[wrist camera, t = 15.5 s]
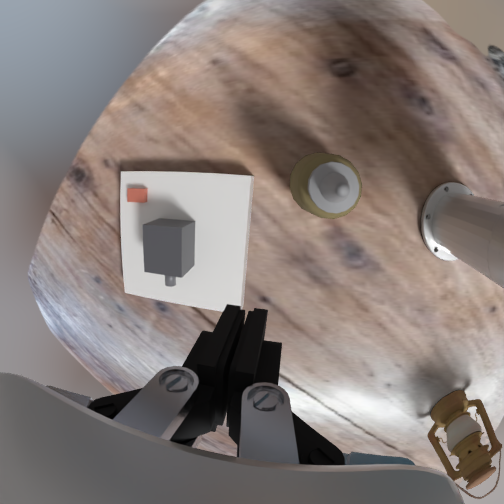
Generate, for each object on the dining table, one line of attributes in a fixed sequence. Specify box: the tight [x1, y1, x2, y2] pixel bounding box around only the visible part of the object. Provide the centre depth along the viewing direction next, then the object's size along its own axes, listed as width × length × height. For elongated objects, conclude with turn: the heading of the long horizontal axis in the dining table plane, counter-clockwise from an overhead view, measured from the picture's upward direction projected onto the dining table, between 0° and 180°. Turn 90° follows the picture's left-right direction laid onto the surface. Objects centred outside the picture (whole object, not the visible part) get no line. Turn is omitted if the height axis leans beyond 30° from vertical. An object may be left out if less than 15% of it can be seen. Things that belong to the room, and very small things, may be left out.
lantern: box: [428, 390, 502, 499], centre depth 30 cm, size 15×10×30 cm
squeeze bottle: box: [290, 152, 362, 219], centre depth 28 cm, size 8×8×18 cm
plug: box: [143, 218, 195, 287], centre depth 38 cm, size 9×6×8 cm, turn 176°
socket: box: [120, 171, 254, 312], centre depth 39 cm, size 20×20×4 cm
